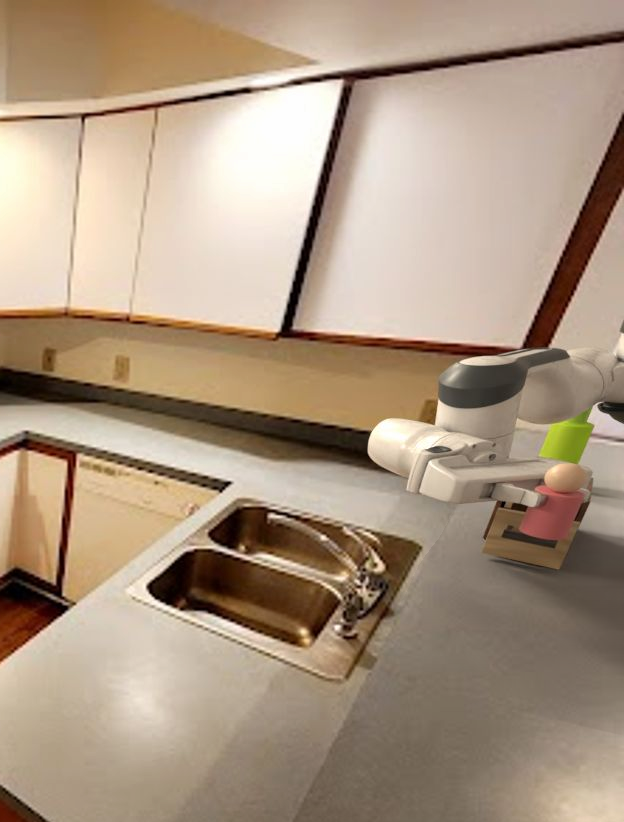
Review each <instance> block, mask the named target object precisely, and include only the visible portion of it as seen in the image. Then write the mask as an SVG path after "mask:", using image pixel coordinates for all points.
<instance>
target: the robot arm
mask: <svg viewBox="0 0 624 822" xmlns="http://www.w3.org/2000/svg"><path fill="white" fill-rule="evenodd" d="M620 325H621V326H620V328H619V332H620V333H621V334H620V338H619V340H618V345H617V347H616V353H615V354H614V353H613V352H611V351H609V350H606V349H604V348H601V347H593V346H584V347H578V348H573V349H568V350H566V349H563V348H557V347H529V348H522V349H517V350H512V351H508V352H502V353H498V354H494V355H481V356H473V357H469V358H465V359H464V358H463V359H460V360H458V361H456V362H455V363H453V364H452V365H450V366H449V367H448V368H446V369H445V370H444V371H443V372H442V373H441V374H440V375H439V376H438V381H437V384H438V385H437V396H438V400H437V408H436V414H435V420H434V421H435V422H434V424H431V423H428V422H423V421H417V420H412V419H407V418H396V417H395V418H394V417H392V418H386V419H383V420H381V421H380V422H379V423H378V424H377V425H376V426H375V427H374V428H373V430H372V432H371V433H370V435H369V438H368V441H367V455H368V456H369V458H370V459H371V460H372V461H373V463H375V464H377V465H378V466H379V467H381V468H384V469H386V470H388V471H389V472H391V473H394V474H396V475H399V476H401V477H404V478H406V479H408V480H407V484H406V491H407V492H409V493H411V494H414V495H423V496H425V497H428V498H431V499H434V500H437V501H440V502H442V503H447V504H453V505H465V504H466V505H467V504H475V503H487V502H497V501H506V502H512V503H519V504H523V505H526V506H529V507H540V506H544V505H545V504H546V501H547V500H548V495H547V494H545V493H541V492H540V491H537V490H535V488H536V487H537V486H542V485H546V484H545V481H544V478H545V475H546V473H547V471H548V470H549V469H551V468H552V467H554V466H556V465H559V464H564V463H570V462H565V461H561V460H557V459H552V458H547V457H540V456H539V455H525V456H513V457H510V453H511V451H512V446H513V441H514V438H515V437H514V436H515V431H516V425H517V420H521V421H523V422H526V423H527V424H528V423H529V424H533V425H543V426H544V425H551V424H555V423H560V422H564V421H567V420H569V419H572V418H574V417H576V416H578V415H580V414H581V413H583V412H584V411H586V410H588V409H589V408H591V407H592V406H593V407H594V406H595V405H596V404H597V405H596V407H597V409H598V411H600V412H601V413H603V414H605V415H609V416H610V417H611V418H612V419H613V420H614V421H616V422H618V423H619V424H622V425H624V319H623V320H622V322H621V324H620ZM571 464H574V463H571ZM576 465H578V466H580V467H582V468H583V469H584V470H585V471H586V473H587V481H586V483H585V485H584V486H583V487H581V488H580V489H578V491H580V492H582V493H584V494H585V497H584V499H583V501H582V503H585V502H587V501H588V498H589V496H590V494H591V495H592V493H590V491H589V490H587V489H586V488H587V486H588V484H589V482H590V479H591V478H593V473H594V471H593V470H592V469H591V468H590V467H588V466H586V465H582V464H579V463H578V464H576Z"/></svg>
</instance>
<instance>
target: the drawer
mask: <svg viewBox="0 0 624 822" xmlns="http://www.w3.org/2000/svg"><path fill="white" fill-rule="evenodd" d="M527 508H528V506H526V505H523V504H519V503H512V502H506V504H505V506H504V508H498V510H497V512H496V515H495V518H494V520H493V523H492V525H491V528H490V531H489V533H488V536H487V538H485V541H484V543H483V546H482V548H481V552H480V553H481V554H486V555H490V556H493V557H494V556H495V557H500V558H503V559H508V560H513V561H518V562H522V563H526V564H532V565H536V566H540V567H545V568H550V569H555V570H558V571H559V570H560V569H561V566H562V564H563V562H564V560H565V558H566V556H567V555H566V553H567V554H568V552H569V550H570V548H571V546H570V545H572V544H571V542H572V543H573V541H574V539H575V537H576V535H577V533H576V531H577V532H578V530H579V528H580V526H581V524H580V522H577V521H574V522H573V524H572V526H571V528H570V531H569V533H568V535H567V537H566V539H563V540H547V539H541V538H537V537H533V536H530V535H527V534H525V533H523V532H521V531H520V530H519V528H520V525H521V523H522V520H523V518H524V515H525V513H526V510H527ZM579 525H580V526H579ZM578 527H579V528H578ZM577 529H578V530H577ZM575 534H576V535H575ZM574 536H575V537H574ZM573 538H574V539H573ZM572 540H573V541H572ZM569 547H570V548H569ZM568 549H569V550H568ZM567 551H568V552H567Z"/></svg>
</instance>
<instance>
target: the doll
mask: <svg viewBox="0 0 624 822" xmlns="http://www.w3.org/2000/svg"><path fill="white" fill-rule="evenodd" d="M578 465H579V464H578ZM578 465H576V464H571V463H564V464H559V465H556V466H554V467H552V468H551V469H549V470H548V471H547V473H546V475H545V478H544V481H545V484H546V485H542V486H537V487H536V488H535V490H537V491H540V492H541V493H545V494H547V495H548V500H547V501H546V504H545V505H544V506H540V507H529V506H528V508H527V510H526V513H525V515H524V518H523V520H522V523H521V525H520V528H519V530H520V531H521V532H523V533H525V534H527V535H530V536H533V537H537V538H541V539H547V540H563V539H566V537H567V535H568V533H569V531H570V528H571V526H572V524H573V522H574V519H575V517H576V515H577V513H578V510H579V508H580V506H581V504H582V501H583V499H584V497H585V494H584V493H582V492H580V491H578V489H580V488H581V487H583V486H584V485H585V483H586V481H587V473H586V471H585V470H584V469H583V468H582V467H580V466H578Z"/></svg>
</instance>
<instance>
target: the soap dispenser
mask: <svg viewBox="0 0 624 822" xmlns="http://www.w3.org/2000/svg"><path fill="white" fill-rule="evenodd" d="M593 408H594V406H592V407H591V408H589V409H588V410H586V411H584V412H583V413H581V414H580V415H578V416H576V417H574V418H572V419H569V420H567V421H564V422H560V423H555V424H550V427H549V429H548V431H547V434H546V437H545V439H544V441H543V444H542V447H541V449H540V452H539V454H538V456H540V457H547V458H552V459H557V460H561V461H565V462H570V463H574V464H578V465H579V463H580V460H581V458H582V456H583V454H584V452H585V450H586V447H587V445H588V442H589V440H590V438H591V436H592V433H593V431H594V429H595V424H594V423H591V422H589V421H588V420H589V417H590V415H591V413H592V411H593Z"/></svg>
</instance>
